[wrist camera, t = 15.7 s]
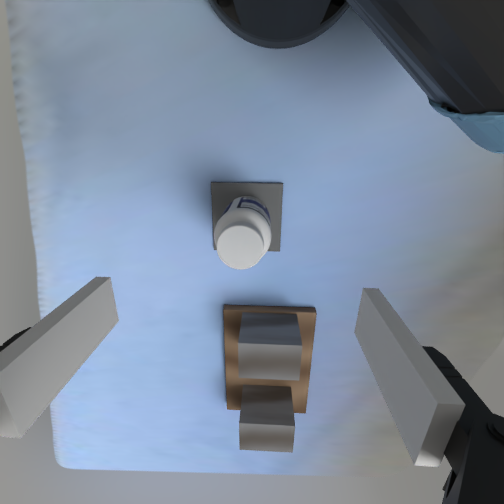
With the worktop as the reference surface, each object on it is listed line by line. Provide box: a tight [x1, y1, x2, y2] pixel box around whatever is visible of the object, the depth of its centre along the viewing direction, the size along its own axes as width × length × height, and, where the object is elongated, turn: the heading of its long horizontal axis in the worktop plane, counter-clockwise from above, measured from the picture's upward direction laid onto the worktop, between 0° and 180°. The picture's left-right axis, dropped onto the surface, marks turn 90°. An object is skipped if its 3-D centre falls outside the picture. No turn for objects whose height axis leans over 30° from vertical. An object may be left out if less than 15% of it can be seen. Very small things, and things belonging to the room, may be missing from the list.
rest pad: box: [211, 182, 283, 251], centre depth 32 cm, size 8×8×1 cm
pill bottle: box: [214, 196, 271, 269], centre depth 27 cm, size 5×5×10 cm
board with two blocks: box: [223, 305, 317, 452], centre depth 37 cm, size 18×12×7 cm, turn 0°
